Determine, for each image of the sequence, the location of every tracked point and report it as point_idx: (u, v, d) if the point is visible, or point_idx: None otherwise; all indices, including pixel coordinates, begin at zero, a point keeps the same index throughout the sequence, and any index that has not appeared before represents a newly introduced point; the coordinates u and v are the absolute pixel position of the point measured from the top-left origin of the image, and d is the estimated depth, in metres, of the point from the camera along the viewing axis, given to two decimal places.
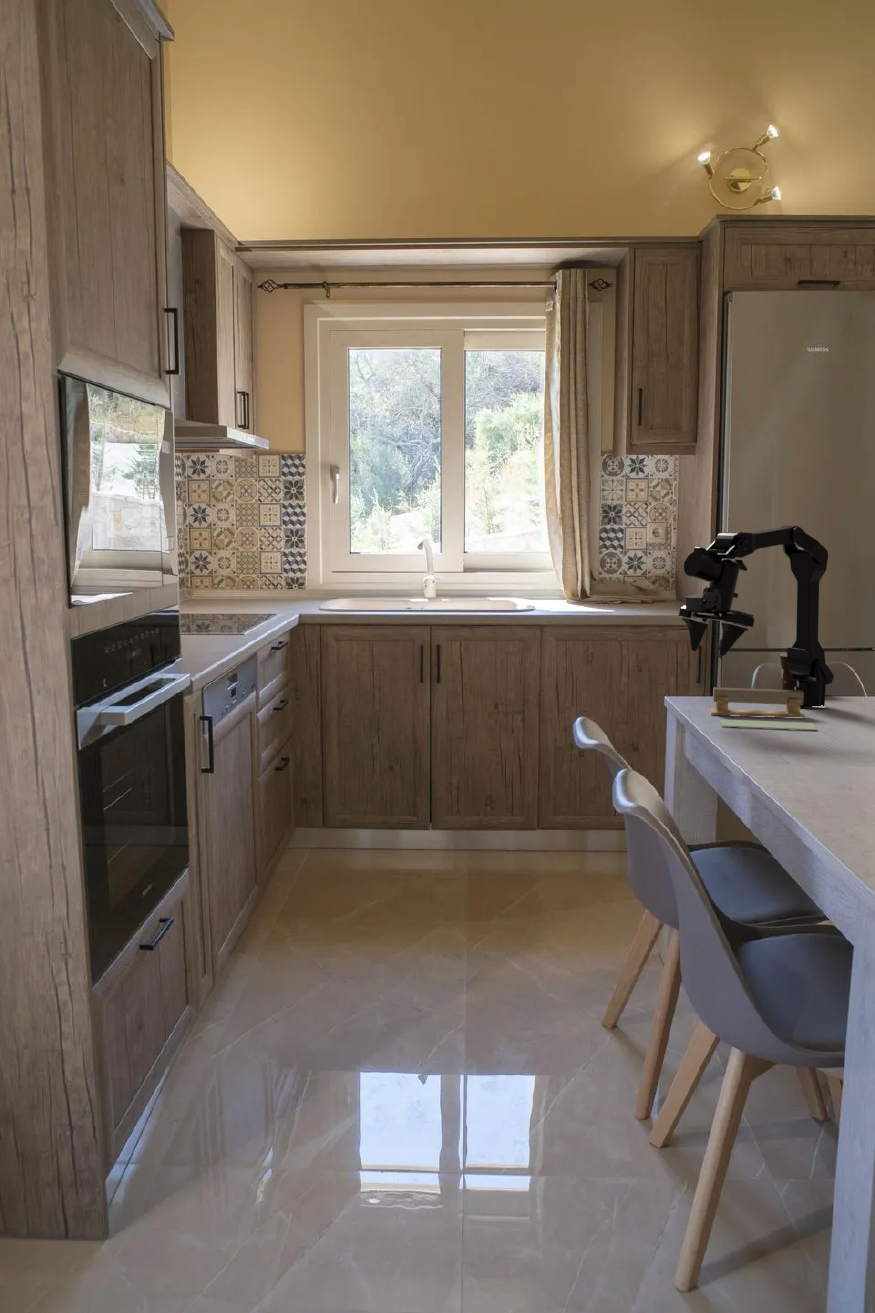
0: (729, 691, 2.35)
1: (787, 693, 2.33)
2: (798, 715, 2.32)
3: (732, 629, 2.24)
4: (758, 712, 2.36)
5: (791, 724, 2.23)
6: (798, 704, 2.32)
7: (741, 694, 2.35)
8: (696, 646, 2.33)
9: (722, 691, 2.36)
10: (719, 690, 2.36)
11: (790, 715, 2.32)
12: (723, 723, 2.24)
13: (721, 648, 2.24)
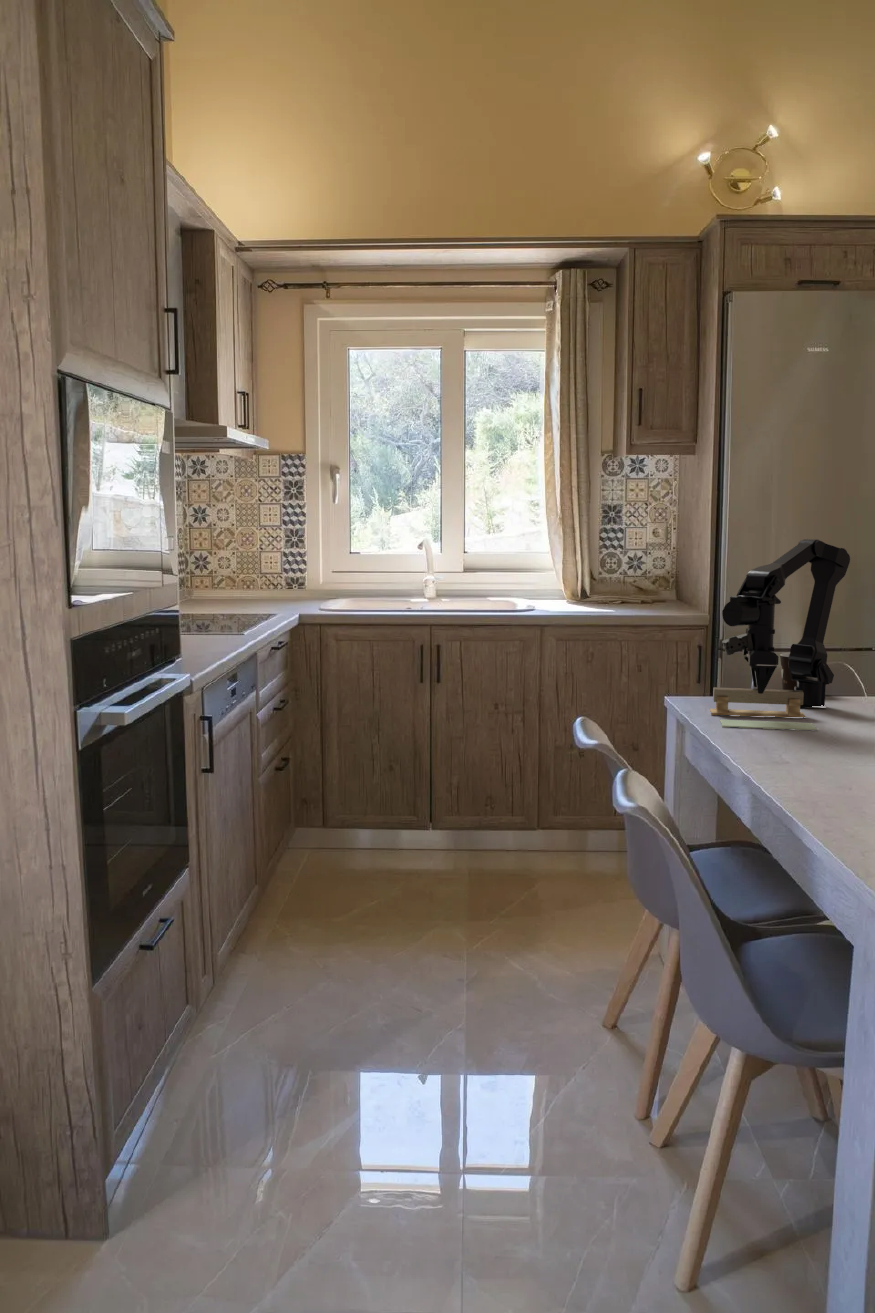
0: (729, 691, 2.35)
1: (787, 693, 2.33)
2: (798, 715, 2.32)
3: (763, 667, 2.29)
4: (758, 712, 2.36)
5: (791, 724, 2.23)
6: (798, 704, 2.32)
7: (741, 694, 2.35)
8: None
9: (722, 691, 2.36)
10: (719, 690, 2.36)
11: (790, 715, 2.32)
12: (723, 723, 2.24)
13: (757, 687, 2.31)
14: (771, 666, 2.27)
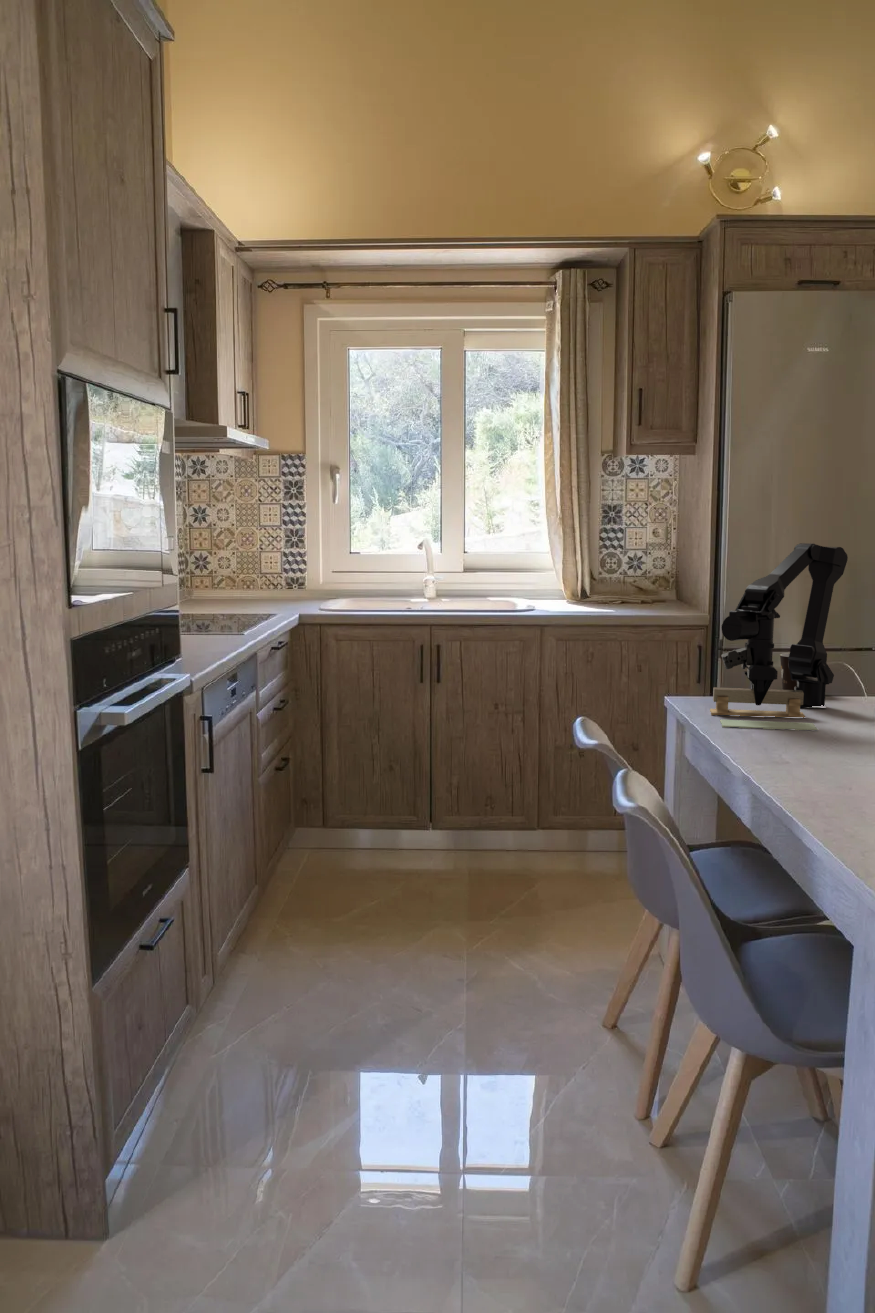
0: (729, 691, 2.35)
1: (787, 693, 2.33)
2: (798, 715, 2.32)
3: (760, 680, 2.32)
4: (758, 712, 2.36)
5: (791, 724, 2.23)
6: (798, 704, 2.32)
7: (741, 694, 2.35)
8: None
9: (722, 691, 2.36)
10: (719, 690, 2.36)
11: (790, 715, 2.32)
12: (723, 723, 2.24)
13: None
14: (768, 678, 2.30)
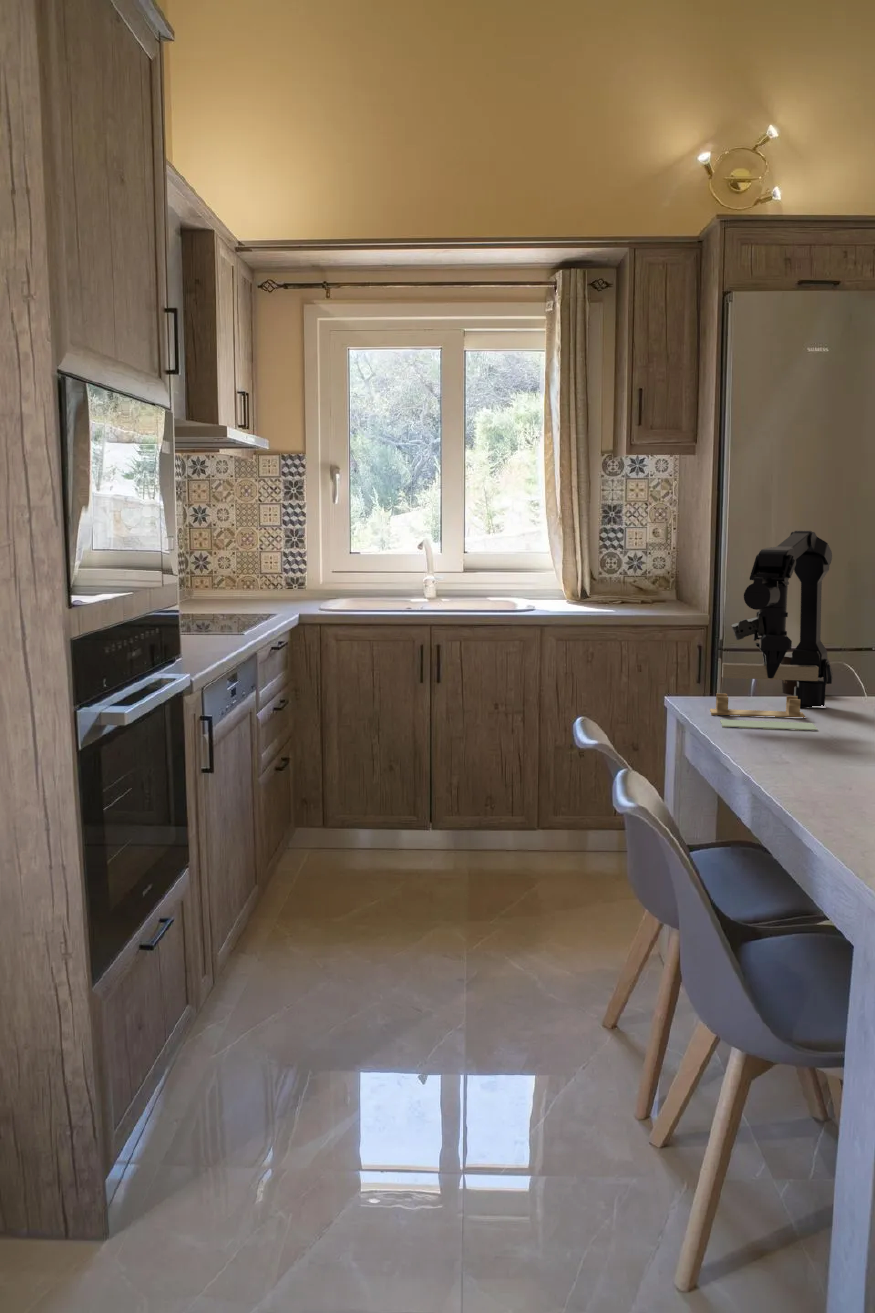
0: (739, 666, 2.22)
1: (801, 668, 2.19)
2: (798, 715, 2.32)
3: (773, 651, 2.19)
4: (758, 712, 2.36)
5: (791, 724, 2.23)
6: (798, 704, 2.32)
7: (752, 670, 2.21)
8: None
9: (732, 666, 2.22)
10: (728, 665, 2.22)
11: (790, 715, 2.32)
12: (723, 723, 2.24)
13: (767, 671, 2.20)
14: (782, 649, 2.16)
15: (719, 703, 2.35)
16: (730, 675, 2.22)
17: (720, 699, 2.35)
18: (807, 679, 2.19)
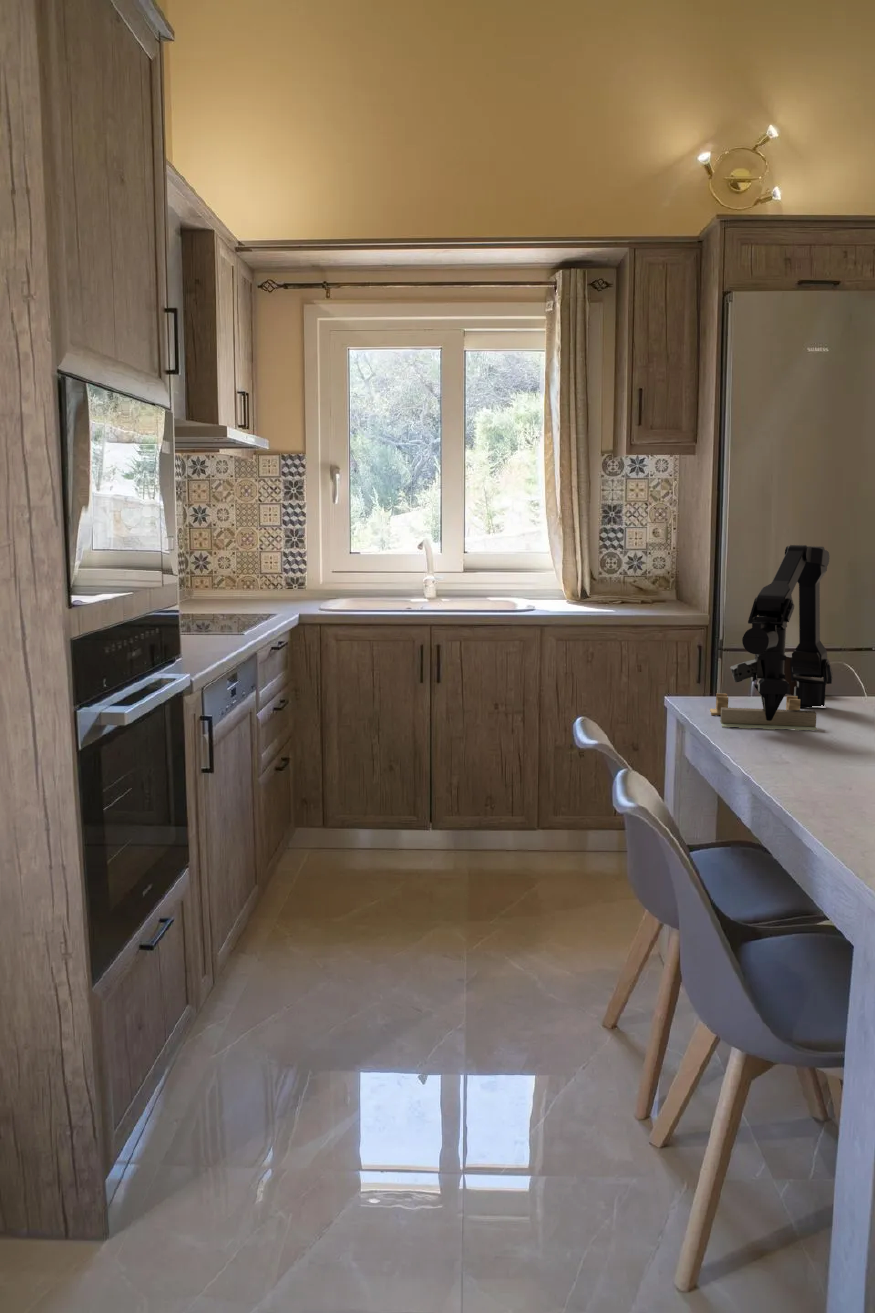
0: (738, 712, 2.23)
1: (799, 714, 2.20)
2: None
3: (772, 694, 2.20)
4: None
5: None
6: (798, 704, 2.32)
7: (750, 715, 2.23)
8: None
9: (730, 711, 2.23)
10: (727, 710, 2.23)
11: None
12: (723, 723, 2.24)
13: None
14: None
15: (719, 703, 2.35)
16: (729, 720, 2.24)
17: (720, 699, 2.35)
18: (805, 725, 2.21)
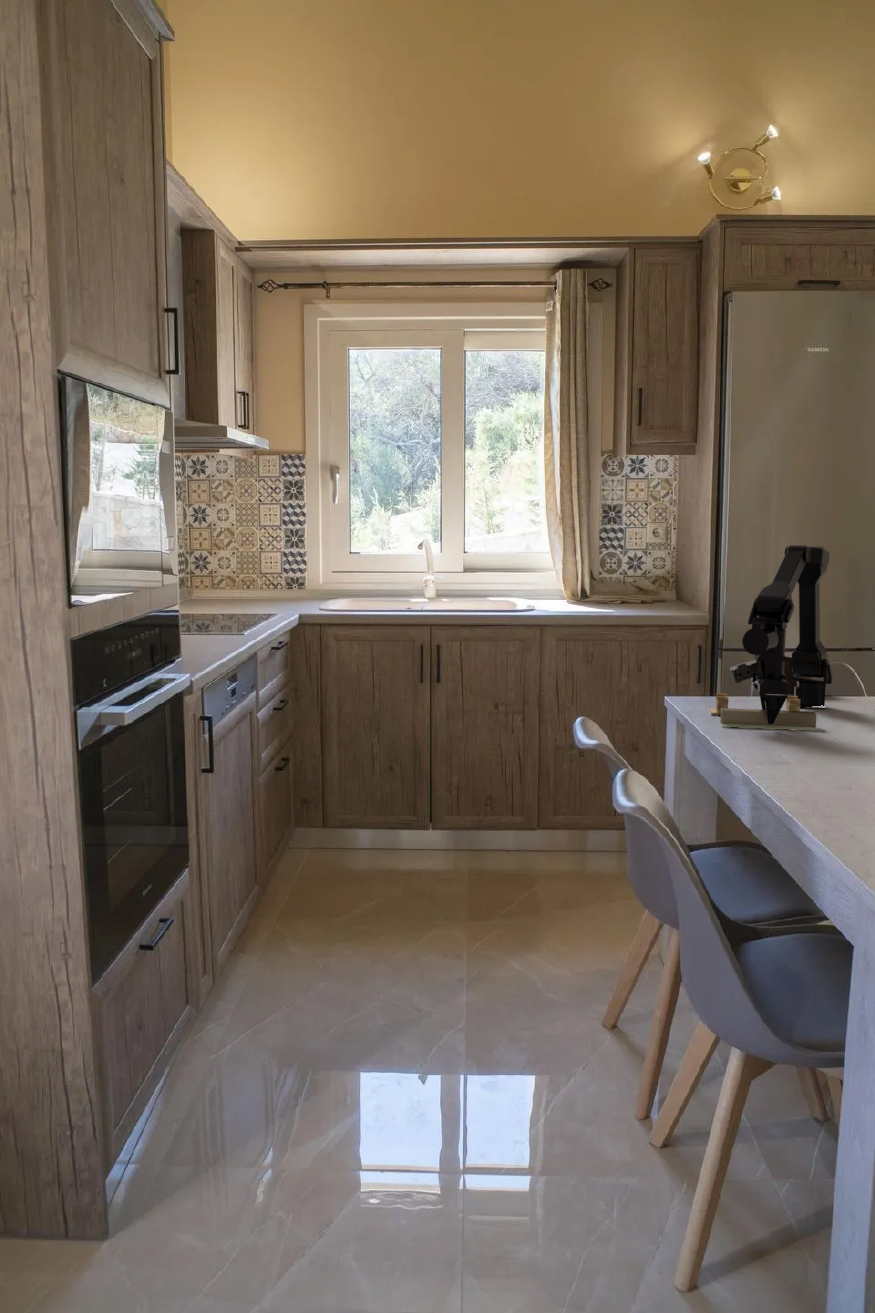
0: (738, 712, 2.23)
1: (799, 715, 2.20)
2: None
3: (773, 697, 2.17)
4: None
5: None
6: (798, 704, 2.32)
7: (750, 716, 2.23)
8: None
9: (730, 712, 2.23)
10: (727, 711, 2.24)
11: None
12: None
13: (767, 717, 2.19)
14: (782, 696, 2.14)
15: (719, 703, 2.35)
16: (729, 721, 2.24)
17: (720, 699, 2.35)
18: (805, 725, 2.21)
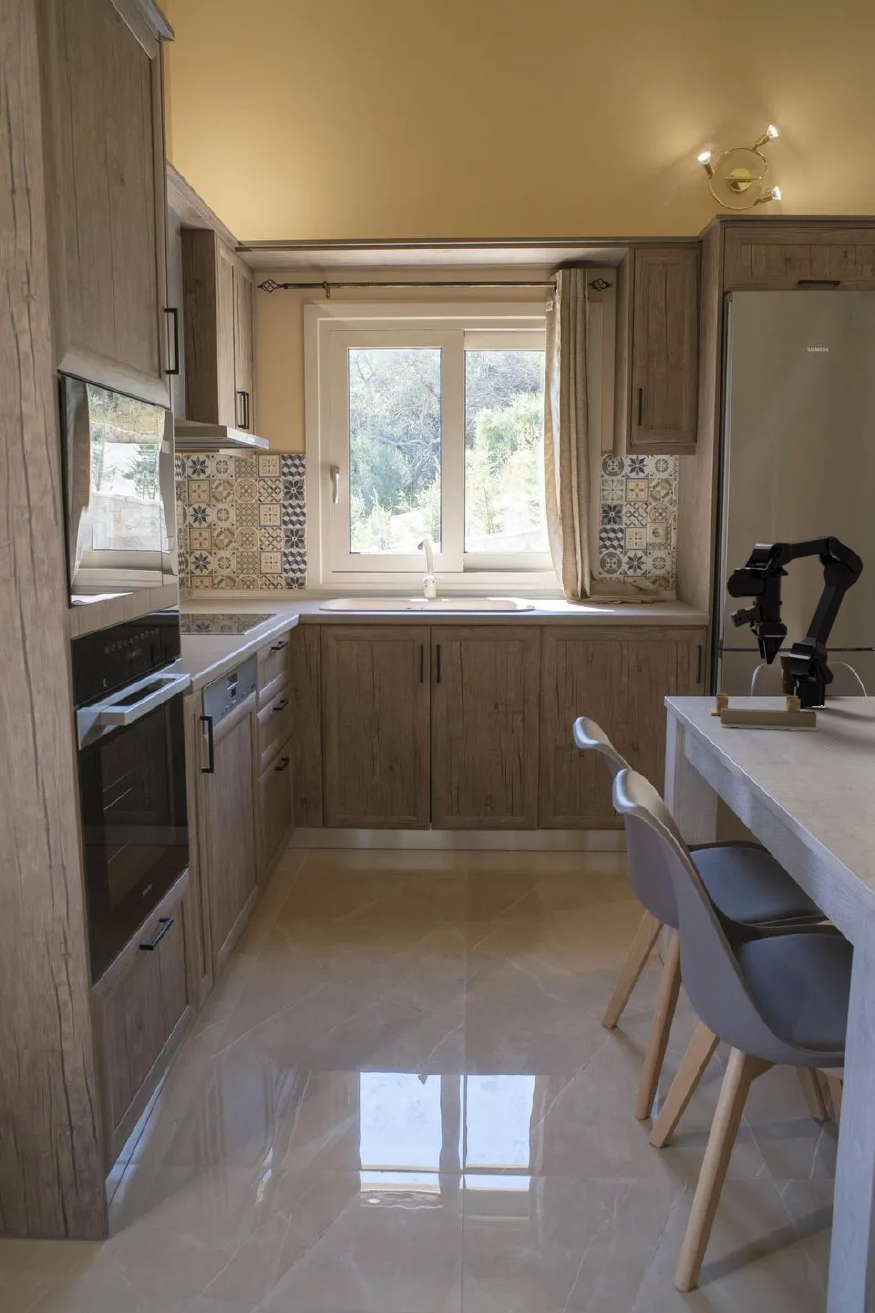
0: (738, 712, 2.23)
1: (799, 715, 2.20)
2: None
3: (771, 638, 2.32)
4: None
5: None
6: (798, 704, 2.32)
7: (750, 716, 2.23)
8: (765, 654, 2.43)
9: (730, 712, 2.23)
10: (727, 711, 2.24)
11: None
12: None
13: None
14: (780, 637, 2.29)
15: (719, 703, 2.35)
16: (729, 721, 2.24)
17: (720, 699, 2.35)
18: (805, 725, 2.21)
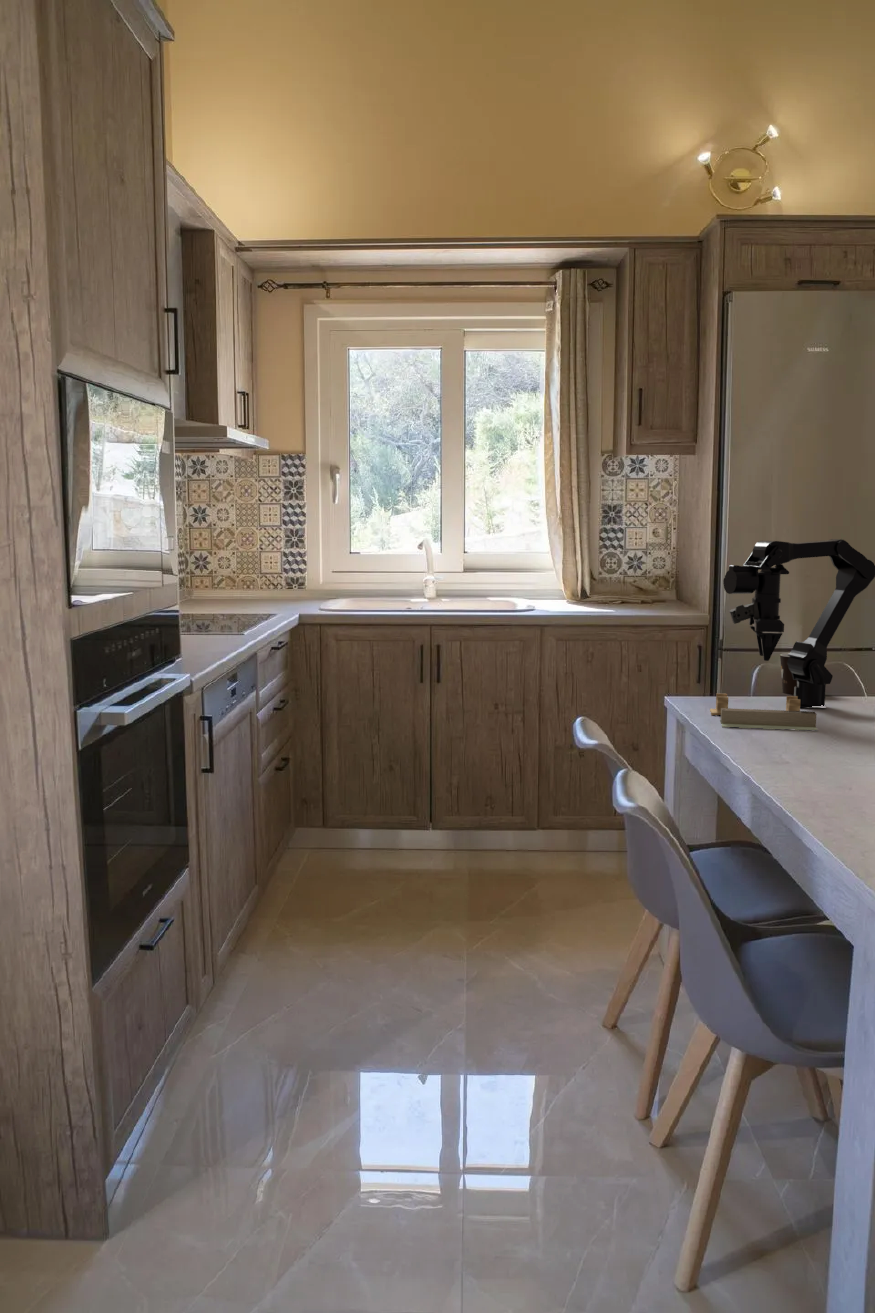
0: (738, 712, 2.23)
1: (799, 715, 2.20)
2: None
3: (769, 635, 2.35)
4: None
5: None
6: (798, 704, 2.32)
7: (750, 716, 2.23)
8: None
9: (730, 712, 2.23)
10: (727, 711, 2.24)
11: None
12: None
13: (763, 654, 2.37)
14: (777, 633, 2.33)
15: (719, 703, 2.35)
16: (729, 721, 2.24)
17: (720, 699, 2.35)
18: (805, 725, 2.21)
